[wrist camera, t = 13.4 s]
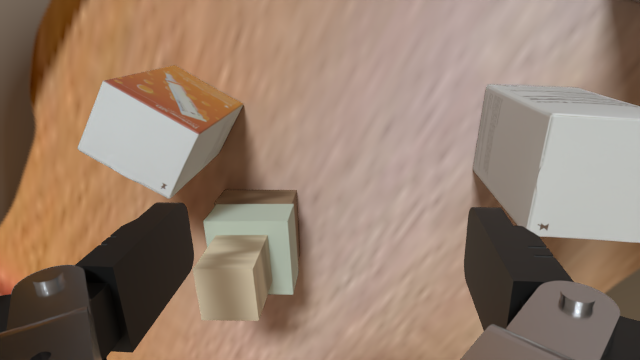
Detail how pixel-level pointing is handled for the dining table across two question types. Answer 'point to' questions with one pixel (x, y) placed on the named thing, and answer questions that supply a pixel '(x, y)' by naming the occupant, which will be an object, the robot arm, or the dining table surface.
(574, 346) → the robot arm
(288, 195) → the walnut slab
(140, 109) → the small box
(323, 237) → the dining table surface
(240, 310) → the maple block
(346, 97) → the dining table surface
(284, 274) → the sage slab
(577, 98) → the supplement box
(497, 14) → the dining table surface
